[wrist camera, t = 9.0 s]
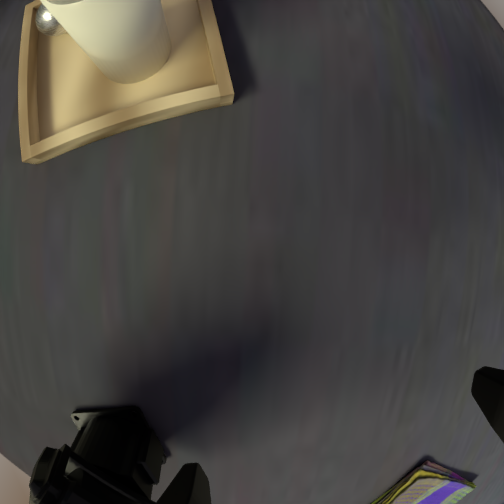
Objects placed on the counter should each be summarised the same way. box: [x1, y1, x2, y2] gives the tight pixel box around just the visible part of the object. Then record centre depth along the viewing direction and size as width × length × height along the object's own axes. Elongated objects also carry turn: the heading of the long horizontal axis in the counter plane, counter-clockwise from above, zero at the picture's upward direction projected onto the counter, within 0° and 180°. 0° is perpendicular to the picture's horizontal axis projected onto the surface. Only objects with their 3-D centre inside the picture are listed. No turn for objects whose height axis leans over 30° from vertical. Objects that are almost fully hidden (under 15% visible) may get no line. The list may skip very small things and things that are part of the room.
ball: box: [36, 4, 67, 36], centre depth 13 cm, size 4×4×4 cm
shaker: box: [40, 0, 171, 84], centre depth 11 cm, size 5×5×11 cm
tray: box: [18, 0, 234, 164], centre depth 15 cm, size 14×14×2 cm
